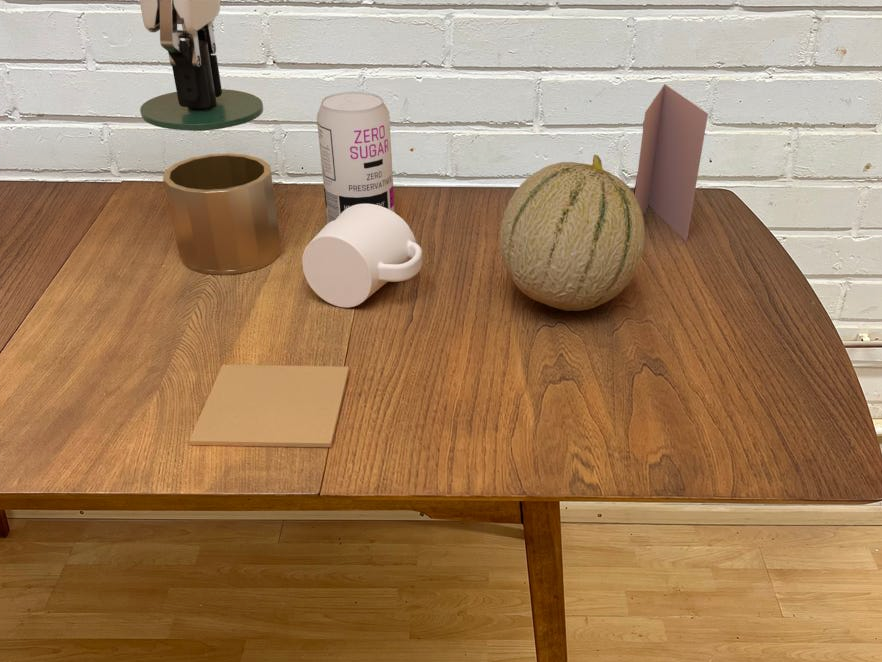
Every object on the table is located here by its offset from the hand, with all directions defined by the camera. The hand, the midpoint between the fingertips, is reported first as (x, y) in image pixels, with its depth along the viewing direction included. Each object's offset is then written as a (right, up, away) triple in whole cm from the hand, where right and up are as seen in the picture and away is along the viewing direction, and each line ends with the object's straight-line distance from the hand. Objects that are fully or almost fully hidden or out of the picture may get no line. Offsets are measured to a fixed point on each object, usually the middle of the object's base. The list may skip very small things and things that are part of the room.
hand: (201, 99), depth 92 cm
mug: (+17, -19, +5) cm, 26 cm away
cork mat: (+11, -33, -13) cm, 37 cm away
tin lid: (0, -1, +1) cm, 1 cm away
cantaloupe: (+38, -21, +3) cm, 44 cm away
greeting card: (+52, -8, +18) cm, 56 cm away
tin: (0, -13, +11) cm, 17 cm away
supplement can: (+14, -9, +17) cm, 24 cm away
